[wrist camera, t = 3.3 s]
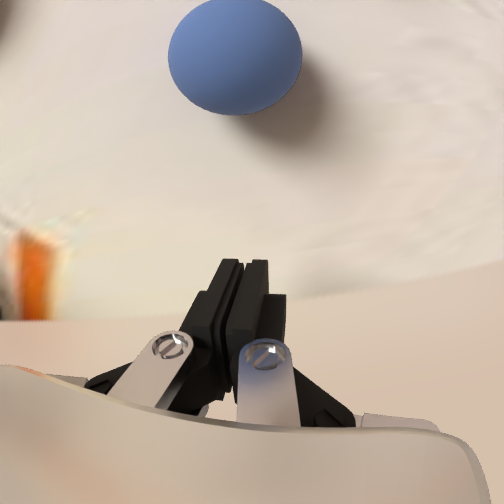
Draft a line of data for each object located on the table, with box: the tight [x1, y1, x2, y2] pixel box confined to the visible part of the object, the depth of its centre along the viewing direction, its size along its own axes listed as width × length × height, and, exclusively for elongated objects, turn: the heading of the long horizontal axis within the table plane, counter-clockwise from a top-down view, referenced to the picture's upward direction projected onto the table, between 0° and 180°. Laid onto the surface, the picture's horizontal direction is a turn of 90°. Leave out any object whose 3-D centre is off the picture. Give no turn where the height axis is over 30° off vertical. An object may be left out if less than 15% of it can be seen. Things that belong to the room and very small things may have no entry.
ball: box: [168, 0, 302, 115], centre depth 11 cm, size 6×6×6 cm
